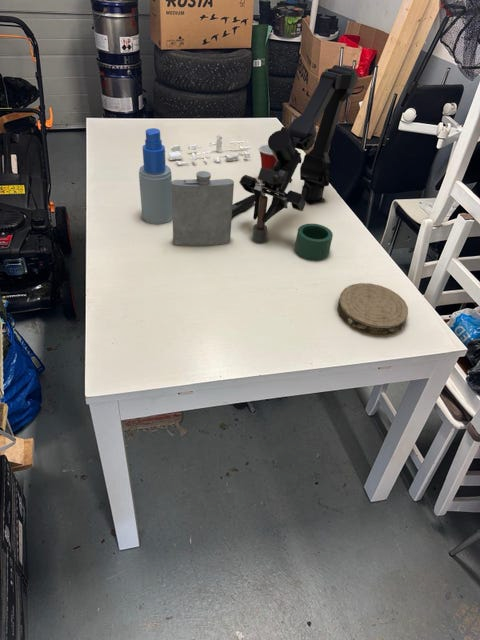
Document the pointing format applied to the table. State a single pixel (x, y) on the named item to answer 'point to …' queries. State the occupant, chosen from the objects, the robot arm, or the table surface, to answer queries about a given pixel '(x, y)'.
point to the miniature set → (177, 155)
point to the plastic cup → (266, 157)
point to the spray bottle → (155, 181)
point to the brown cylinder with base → (260, 222)
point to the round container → (313, 241)
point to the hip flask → (202, 210)
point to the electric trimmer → (243, 204)
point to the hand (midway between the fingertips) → (258, 220)
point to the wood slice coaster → (372, 309)
